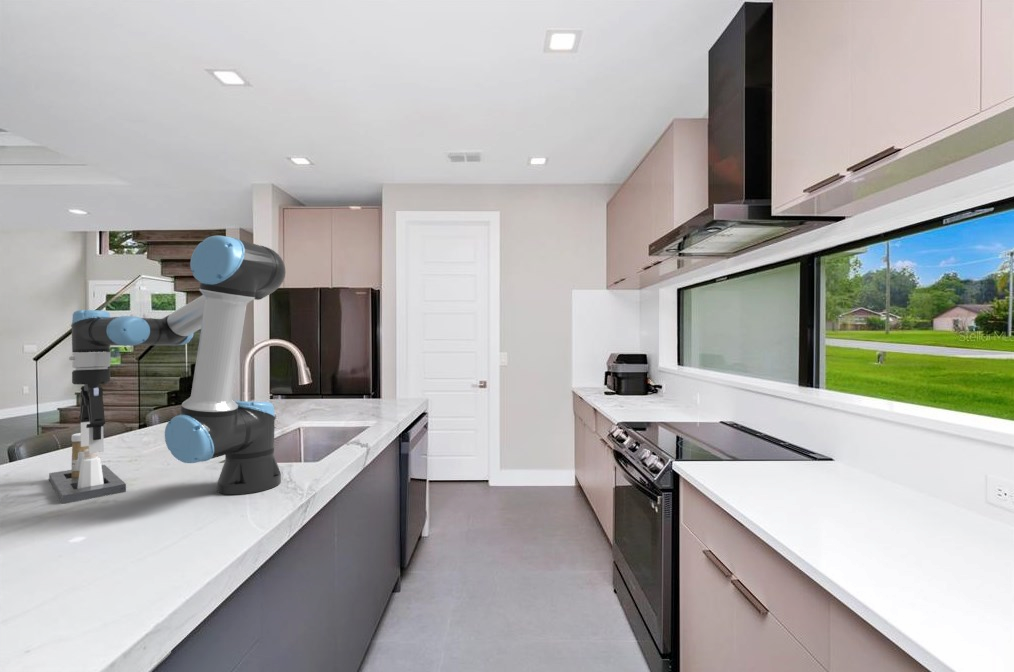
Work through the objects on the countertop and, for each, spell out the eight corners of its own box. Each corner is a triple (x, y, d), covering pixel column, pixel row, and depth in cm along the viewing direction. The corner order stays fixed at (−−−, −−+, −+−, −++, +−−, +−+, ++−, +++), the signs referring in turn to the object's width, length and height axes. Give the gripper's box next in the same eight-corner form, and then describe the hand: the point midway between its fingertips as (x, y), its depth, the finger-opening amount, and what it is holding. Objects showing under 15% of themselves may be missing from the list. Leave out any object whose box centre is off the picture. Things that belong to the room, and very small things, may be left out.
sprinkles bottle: (69, 481, 130) (70, 433, 130) (91, 477, 133) (91, 431, 133) (72, 484, 127) (72, 435, 127) (94, 480, 130) (94, 433, 130)
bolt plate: (125, 491, 120) (125, 483, 120) (62, 503, 111) (62, 495, 111) (104, 471, 140) (104, 464, 140) (49, 480, 131) (49, 473, 131)
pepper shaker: (90, 487, 124) (91, 446, 124) (109, 488, 123) (110, 447, 124) (70, 494, 118) (71, 451, 118) (90, 494, 118) (90, 451, 118)
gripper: (65, 368, 127) (65, 445, 126) (79, 370, 110) (79, 458, 110) (101, 367, 132) (101, 441, 132) (119, 368, 116) (119, 452, 116)
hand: (91, 449), depth 121 cm, fingers open, 13 cm apart
